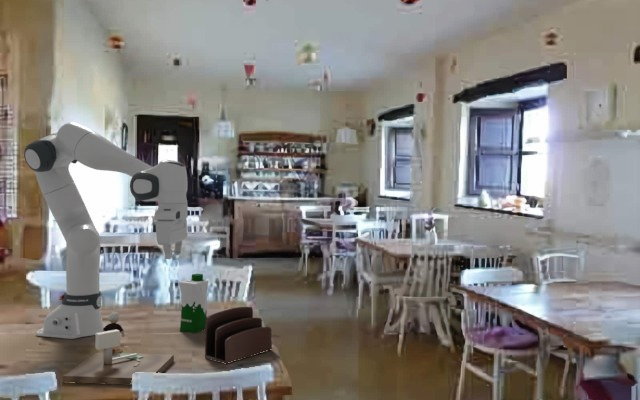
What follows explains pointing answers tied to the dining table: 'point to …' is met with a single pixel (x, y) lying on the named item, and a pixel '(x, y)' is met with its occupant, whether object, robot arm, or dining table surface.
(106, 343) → the grey piece
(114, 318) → the grandmother figurine
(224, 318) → the letter holder
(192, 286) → the milk carton
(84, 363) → the wooden cutting board
